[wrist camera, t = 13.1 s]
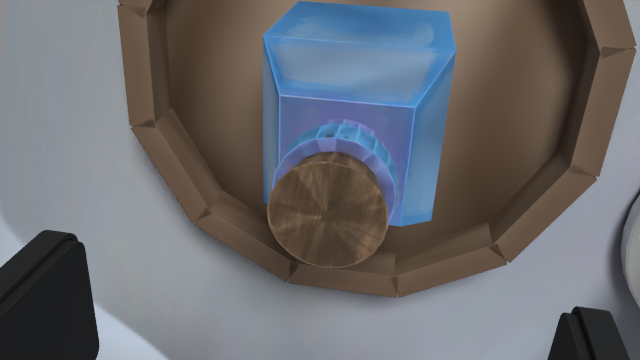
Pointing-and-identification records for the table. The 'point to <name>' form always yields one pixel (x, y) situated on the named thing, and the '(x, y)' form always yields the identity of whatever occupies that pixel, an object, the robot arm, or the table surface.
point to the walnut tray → (458, 142)
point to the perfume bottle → (352, 125)
